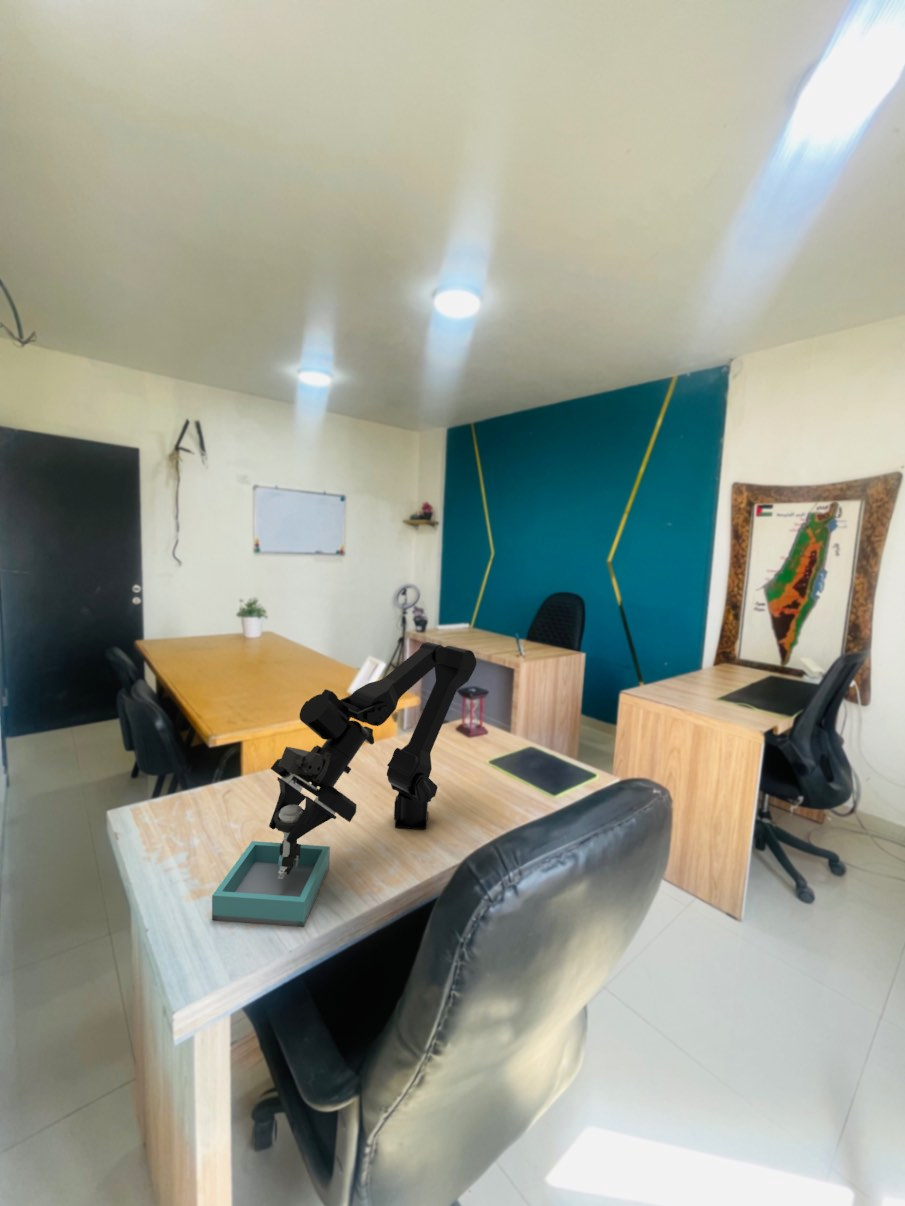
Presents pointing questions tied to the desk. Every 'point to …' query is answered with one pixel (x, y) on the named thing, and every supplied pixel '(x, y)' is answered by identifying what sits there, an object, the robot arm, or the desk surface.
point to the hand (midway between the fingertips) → (279, 834)
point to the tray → (271, 886)
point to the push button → (288, 851)
